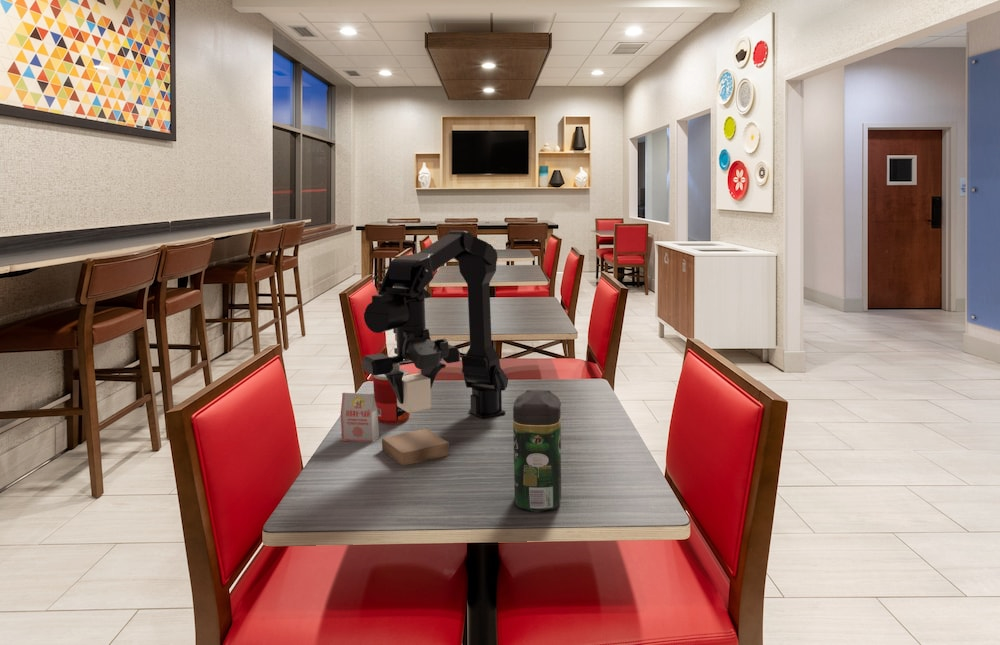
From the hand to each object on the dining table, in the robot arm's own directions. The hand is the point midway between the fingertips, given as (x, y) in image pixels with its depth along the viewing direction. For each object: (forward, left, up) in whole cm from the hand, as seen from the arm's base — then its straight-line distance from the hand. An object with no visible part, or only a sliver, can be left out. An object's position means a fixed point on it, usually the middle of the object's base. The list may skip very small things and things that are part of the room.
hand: (413, 401), depth 139 cm
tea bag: (+6, -14, -11) cm, 19 cm away
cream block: (0, 0, -1) cm, 1 cm away
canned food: (-5, -22, -11) cm, 25 cm away
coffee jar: (-7, +32, -11) cm, 34 cm away
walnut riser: (0, 0, -11) cm, 11 cm away
